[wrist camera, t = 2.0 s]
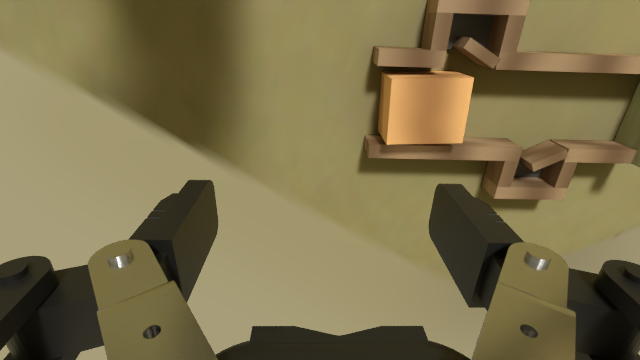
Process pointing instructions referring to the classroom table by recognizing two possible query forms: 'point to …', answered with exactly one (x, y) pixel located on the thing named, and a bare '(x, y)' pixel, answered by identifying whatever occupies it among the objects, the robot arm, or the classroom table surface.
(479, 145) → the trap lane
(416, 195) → the classroom table surface
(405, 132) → the block
